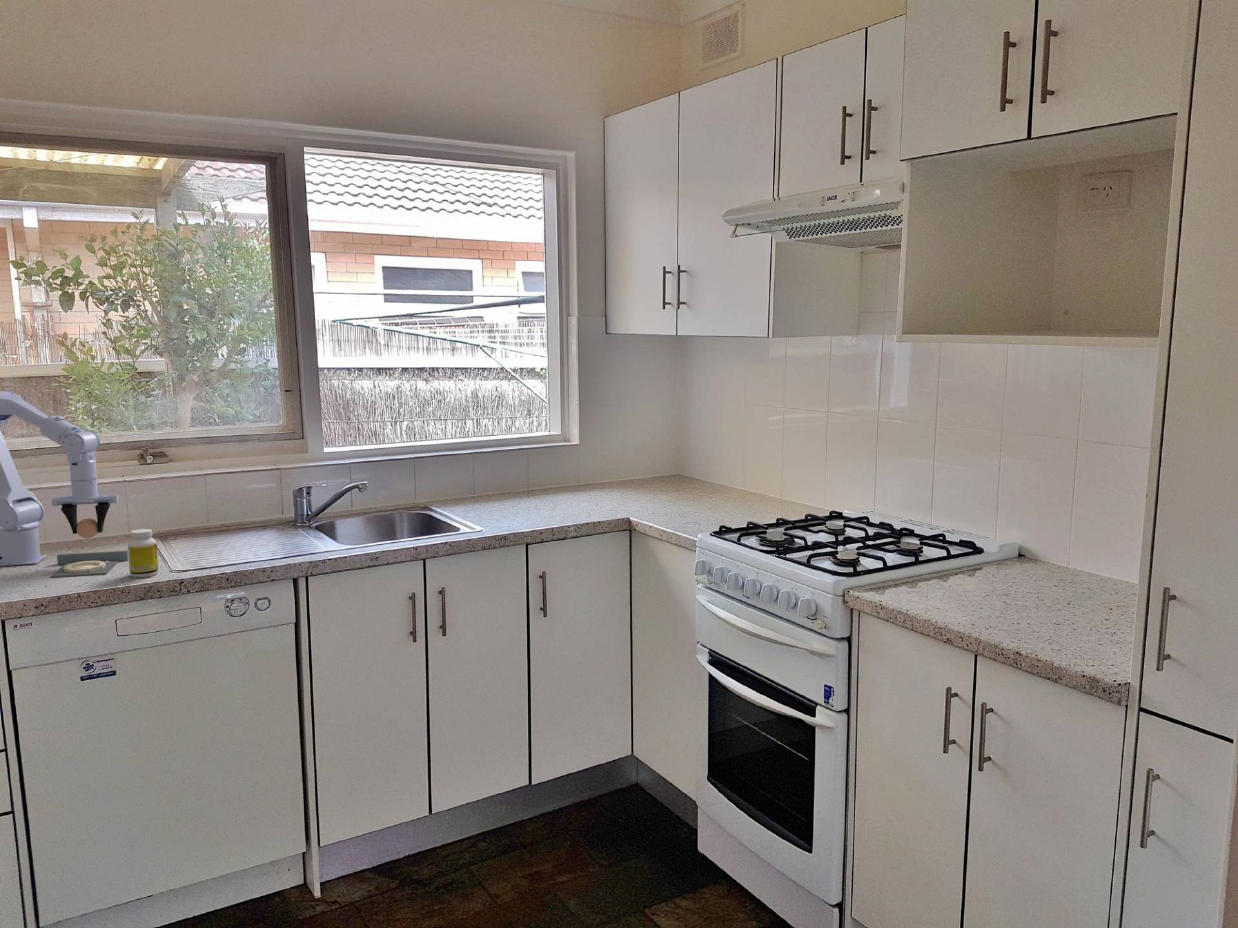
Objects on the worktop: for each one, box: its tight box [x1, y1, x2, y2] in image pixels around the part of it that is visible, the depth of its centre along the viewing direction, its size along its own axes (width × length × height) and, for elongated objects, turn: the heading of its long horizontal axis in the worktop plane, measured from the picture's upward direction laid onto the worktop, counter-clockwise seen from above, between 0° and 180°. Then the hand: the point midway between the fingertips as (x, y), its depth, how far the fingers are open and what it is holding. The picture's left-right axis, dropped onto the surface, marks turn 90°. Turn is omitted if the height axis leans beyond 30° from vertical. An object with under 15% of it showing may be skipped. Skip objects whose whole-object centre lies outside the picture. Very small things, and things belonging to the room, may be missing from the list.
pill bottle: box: [127, 528, 159, 579], centre depth 223 cm, size 6×6×11 cm
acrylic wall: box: [56, 549, 129, 566], centre depth 235 cm, size 16×1×2 cm, turn 107°
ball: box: [76, 517, 98, 539], centre depth 231 cm, size 5×5×5 cm
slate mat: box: [50, 561, 119, 579], centre depth 228 cm, size 12×12×1 cm
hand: (88, 532), depth 231 cm, fingers closed on ball, 5 cm apart
